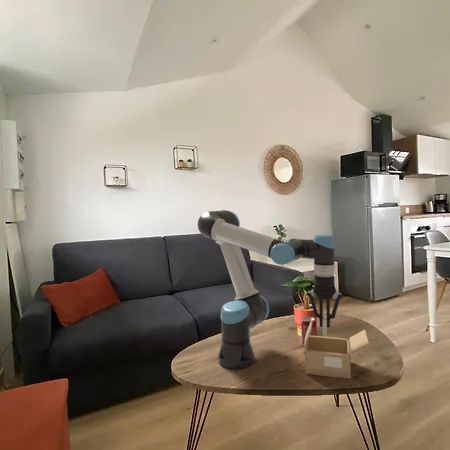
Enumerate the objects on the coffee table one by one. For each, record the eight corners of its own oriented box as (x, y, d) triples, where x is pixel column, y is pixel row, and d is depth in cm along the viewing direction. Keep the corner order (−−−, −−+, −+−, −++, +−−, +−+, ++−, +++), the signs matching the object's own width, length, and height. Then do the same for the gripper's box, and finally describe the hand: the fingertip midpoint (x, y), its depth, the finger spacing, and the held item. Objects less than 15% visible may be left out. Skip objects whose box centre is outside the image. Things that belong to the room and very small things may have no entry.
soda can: (317, 348, 140) (317, 321, 139) (301, 347, 141) (301, 321, 141) (316, 342, 147) (315, 316, 146) (301, 341, 148) (300, 316, 147)
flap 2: (368, 343, 112) (369, 344, 112) (364, 329, 124) (365, 330, 124) (351, 352, 114) (352, 353, 114) (349, 338, 126) (349, 339, 126)
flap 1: (312, 319, 130) (311, 319, 131) (311, 331, 118) (309, 331, 118) (307, 334, 132) (305, 334, 132) (304, 348, 119) (303, 347, 119)
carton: (305, 374, 119) (304, 351, 118) (307, 356, 133) (307, 335, 133) (350, 380, 114) (350, 356, 113) (348, 360, 128) (348, 338, 128)
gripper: (306, 276, 120) (306, 337, 121) (342, 277, 116) (343, 340, 117) (307, 272, 127) (308, 329, 129) (341, 273, 123) (342, 333, 125)
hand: (324, 335), depth 123 cm, fingers closed
